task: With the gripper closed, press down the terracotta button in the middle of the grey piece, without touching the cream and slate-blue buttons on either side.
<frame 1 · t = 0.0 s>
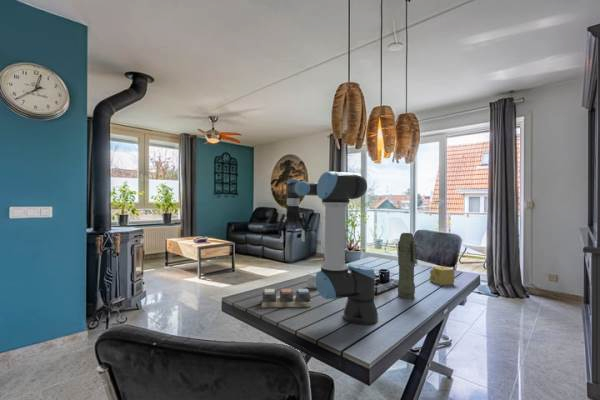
hand: (292, 241, 168), 28 cm above the table, fingers open, 13 cm apart
thermos: (406, 296, 158), on the table
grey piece: (286, 303, 145), on the table
button slate: (303, 293, 146), point 5 cm above the table, slide at 0.0 cm
button cream: (269, 293, 145), point 5 cm above the table, slide at 0.0 cm
die: (313, 288, 172), on the table
button terracotta: (286, 293, 145), point 5 cm above the table, slide at 0.0 cm
cheese: (441, 283, 186), on the table
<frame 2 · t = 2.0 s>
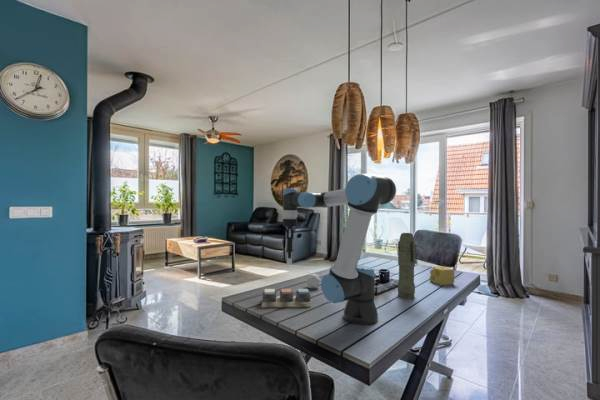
hand: (289, 264, 148), 19 cm above the table, fingers closed
nothing on the table moved.
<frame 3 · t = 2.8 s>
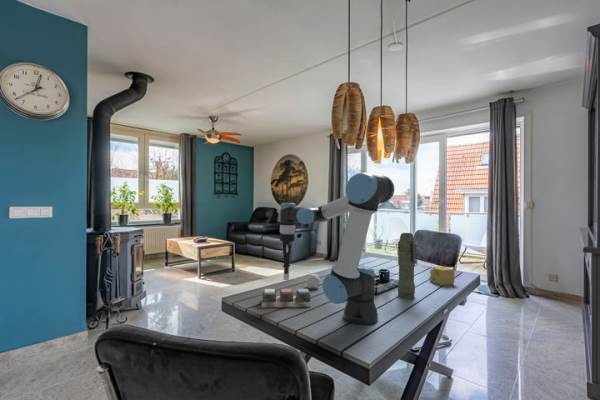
hand: (286, 279, 145), 12 cm above the table, fingers closed
nothing on the table moved.
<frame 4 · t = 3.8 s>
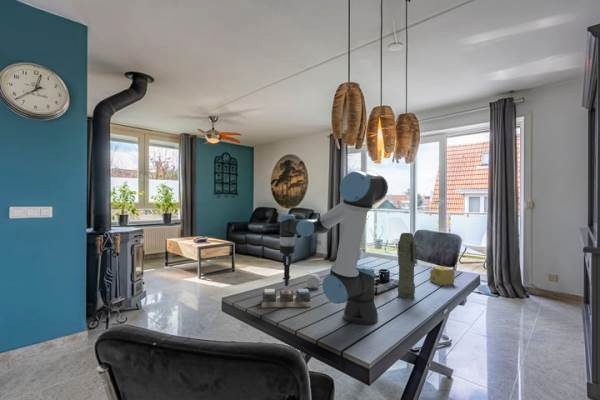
hand: (286, 291, 145), 6 cm above the table, fingers closed
button terracotta: (286, 294, 145), point 4 cm above the table, slide at 0.8 cm, touching gripper
everything else where it was.
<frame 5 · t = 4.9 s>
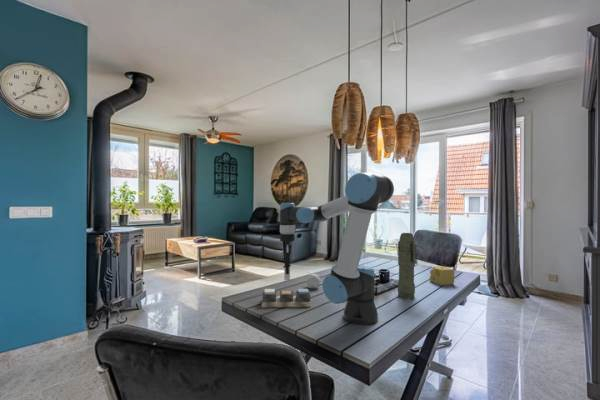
hand: (287, 279, 145), 12 cm above the table, fingers closed
button terracotta: (286, 295, 145), point 4 cm above the table, slide at 0.9 cm
everything else where it was.
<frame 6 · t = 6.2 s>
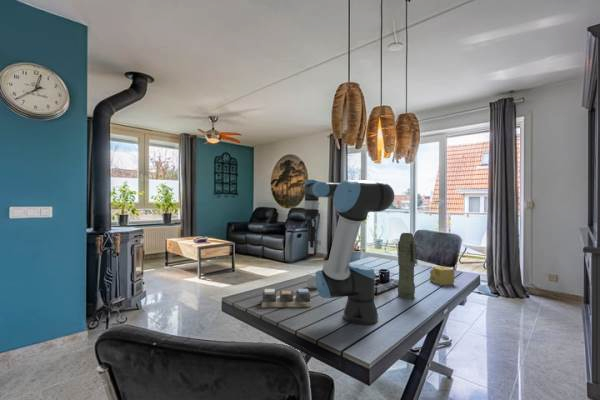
hand: (311, 253, 152), 24 cm above the table, fingers closed
nothing on the table moved.
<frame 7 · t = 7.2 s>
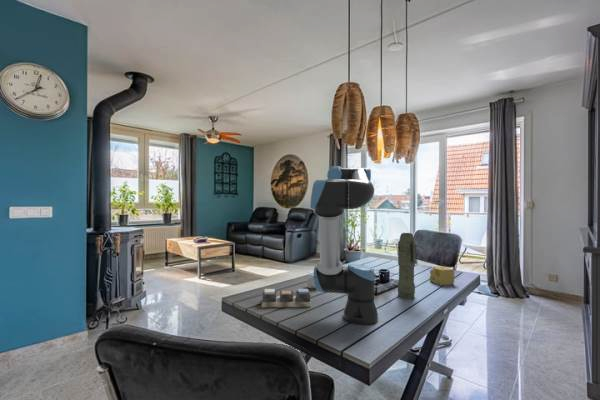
hand: (334, 236, 160), 32 cm above the table, fingers closed
nothing on the table moved.
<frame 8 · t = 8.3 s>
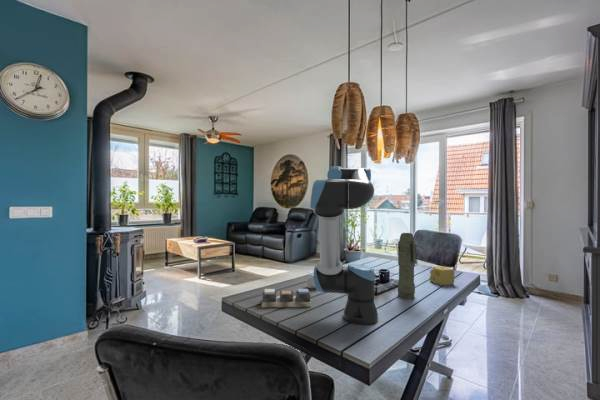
hand: (334, 236, 160), 32 cm above the table, fingers closed
nothing on the table moved.
at the end: button terracotta slide at 0.9 cm; button cream slide at 0.0 cm; button slate slide at 0.0 cm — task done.
